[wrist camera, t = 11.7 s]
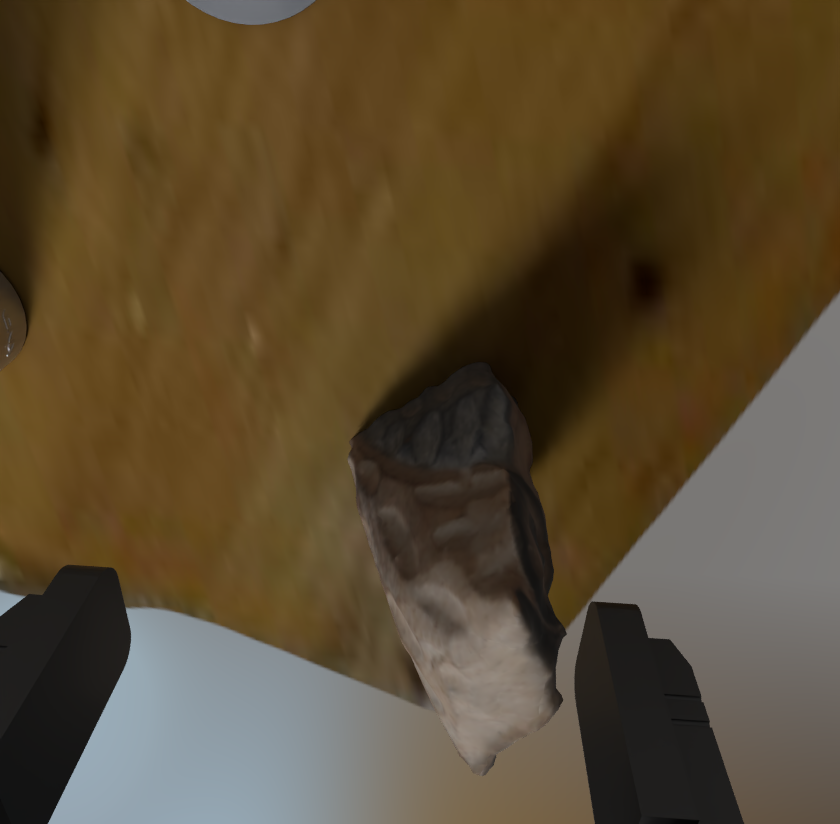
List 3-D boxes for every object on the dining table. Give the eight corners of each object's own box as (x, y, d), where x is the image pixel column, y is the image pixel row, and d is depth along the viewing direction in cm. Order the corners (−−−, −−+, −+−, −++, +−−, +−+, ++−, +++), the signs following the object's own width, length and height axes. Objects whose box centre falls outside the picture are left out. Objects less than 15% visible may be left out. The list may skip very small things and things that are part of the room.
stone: (492, 339, 46) (510, 553, 29) (595, 471, 51) (663, 722, 33) (342, 436, 50) (280, 673, 33) (450, 549, 55) (444, 808, 38)
